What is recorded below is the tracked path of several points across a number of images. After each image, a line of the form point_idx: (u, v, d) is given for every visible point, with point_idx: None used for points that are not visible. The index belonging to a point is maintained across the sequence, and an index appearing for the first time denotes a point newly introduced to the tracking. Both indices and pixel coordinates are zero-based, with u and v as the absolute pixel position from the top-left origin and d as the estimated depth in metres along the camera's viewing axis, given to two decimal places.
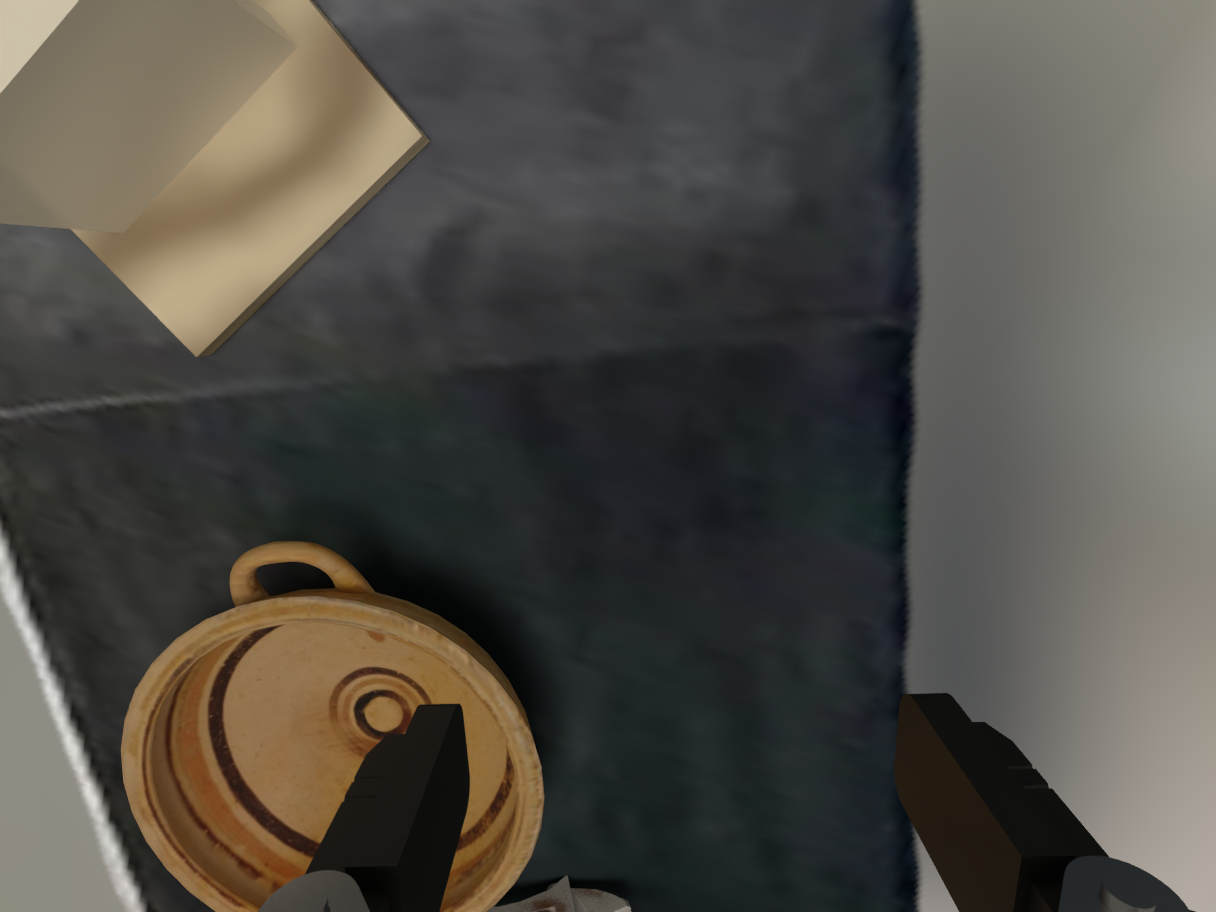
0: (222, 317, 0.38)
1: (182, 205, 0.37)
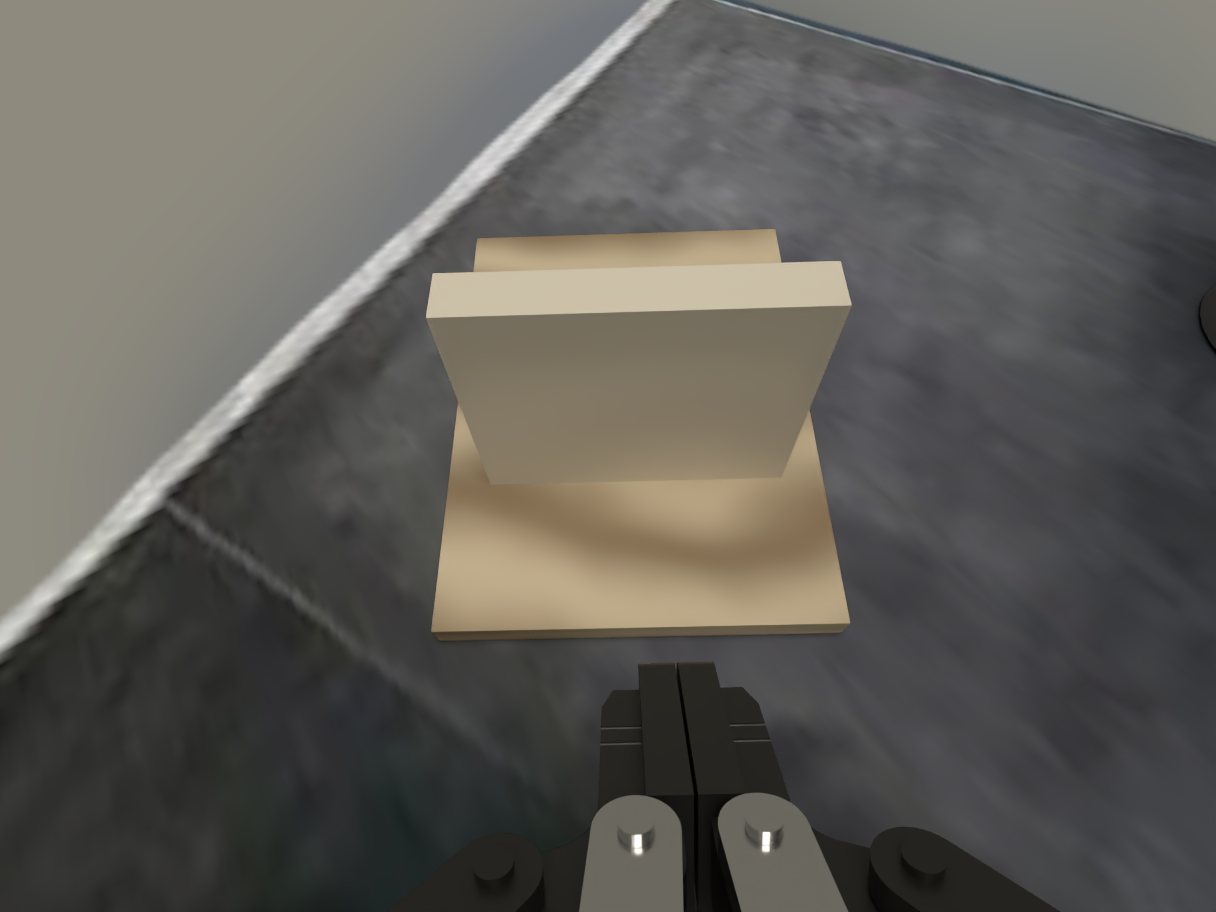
0: (497, 618, 0.30)
1: (564, 505, 0.32)
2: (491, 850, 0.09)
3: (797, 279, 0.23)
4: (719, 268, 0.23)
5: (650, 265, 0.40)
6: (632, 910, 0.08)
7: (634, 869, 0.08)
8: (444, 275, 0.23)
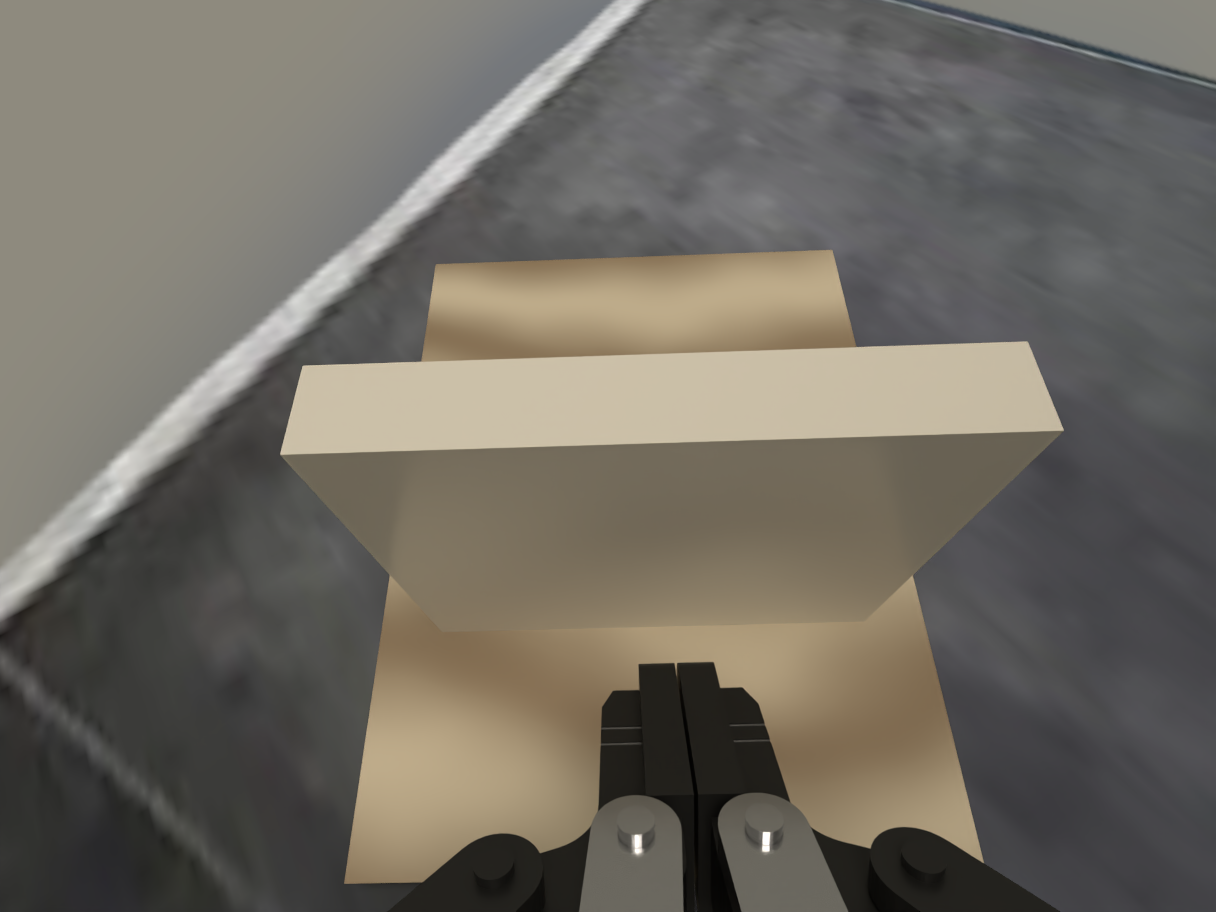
0: (445, 859, 0.20)
1: (548, 665, 0.22)
2: (491, 852, 0.09)
3: (955, 377, 0.13)
4: (811, 356, 0.13)
5: (667, 300, 0.30)
6: (632, 910, 0.08)
7: (635, 869, 0.08)
8: (322, 369, 0.13)
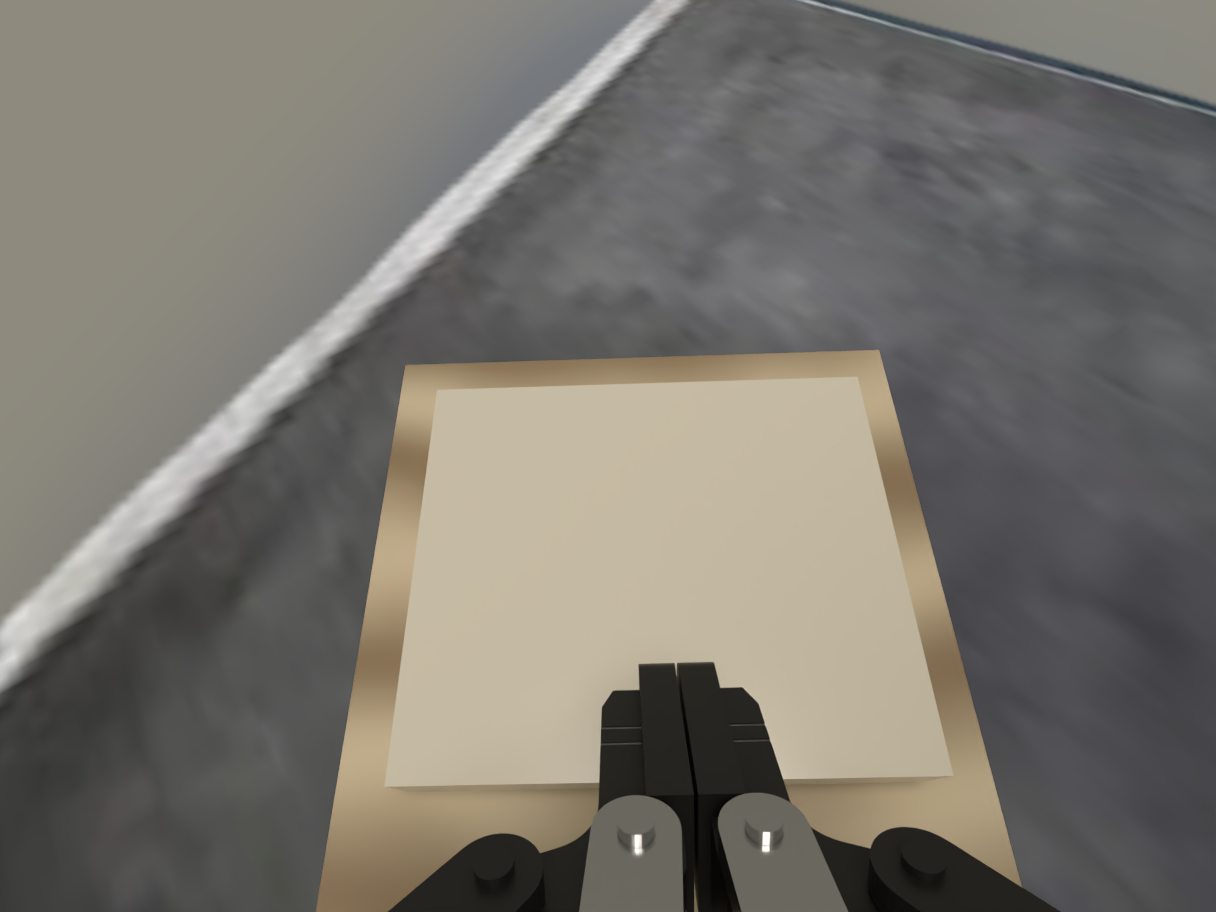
0: None
1: None
2: (491, 850, 0.09)
3: None
4: None
5: None
6: (632, 909, 0.08)
7: (634, 870, 0.08)
8: None
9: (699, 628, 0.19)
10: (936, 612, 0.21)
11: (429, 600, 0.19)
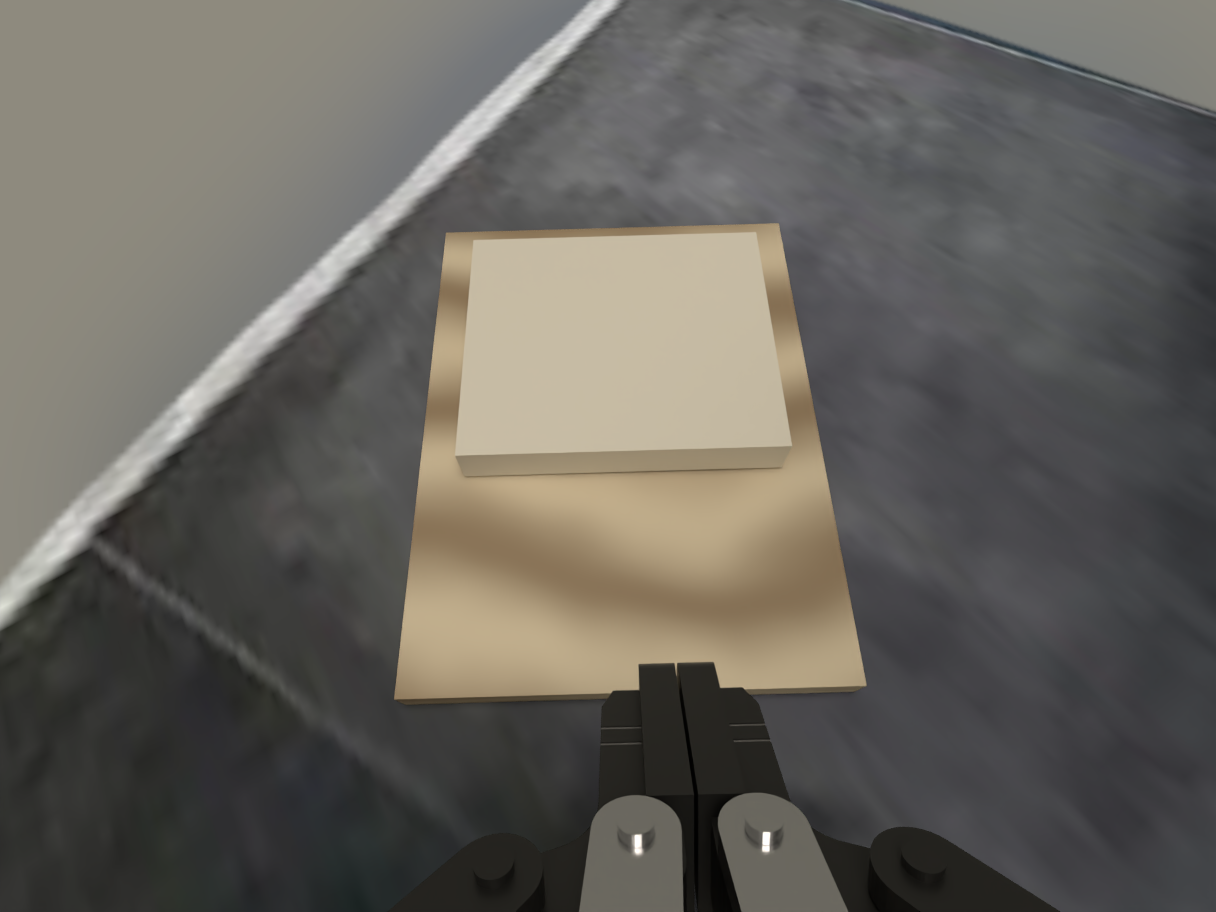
0: (469, 682, 0.26)
1: (545, 547, 0.29)
2: (491, 851, 0.09)
3: None
4: None
5: None
6: (632, 910, 0.08)
7: (634, 869, 0.08)
8: None
9: (645, 374, 0.30)
10: (800, 379, 0.32)
11: (476, 360, 0.30)
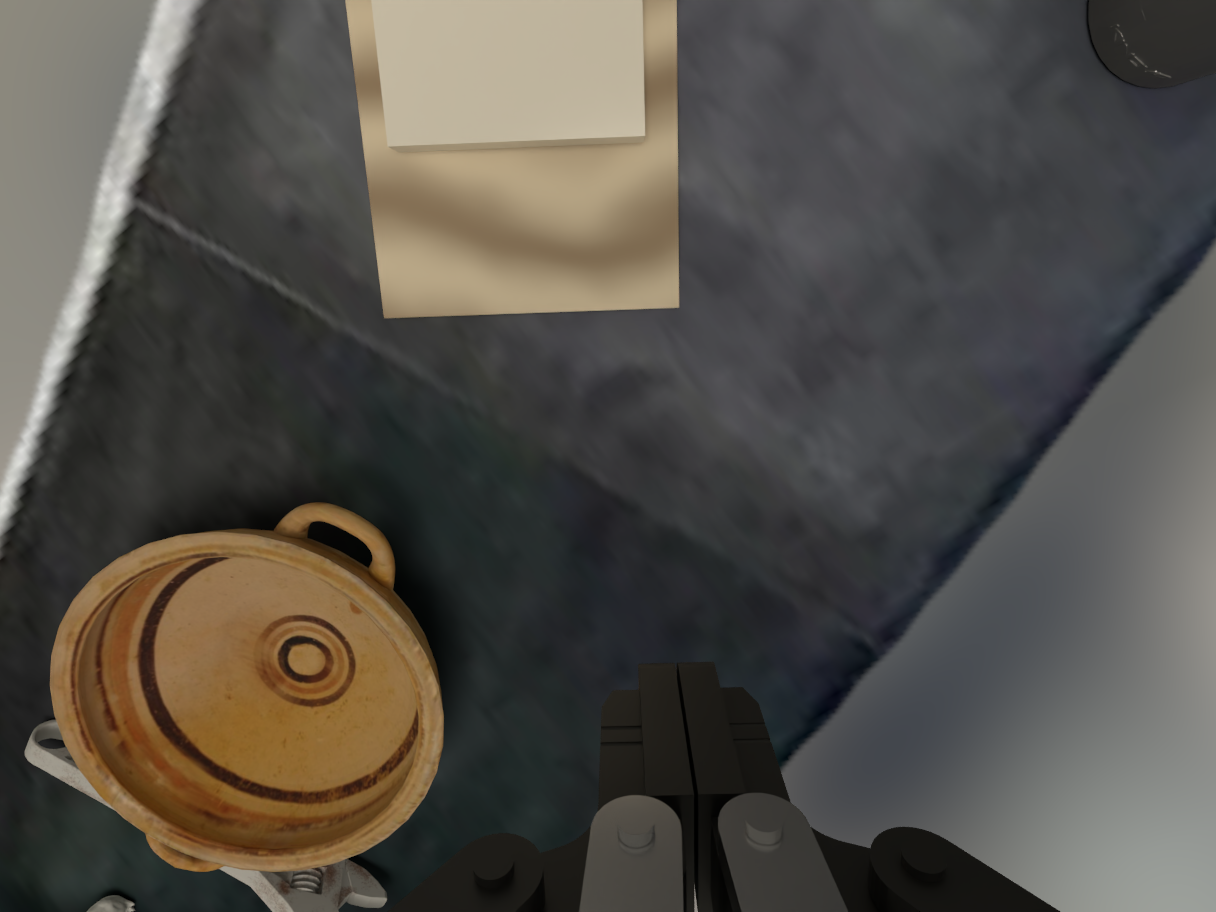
0: (429, 307, 0.41)
1: (467, 212, 0.40)
2: (491, 851, 0.09)
3: None
4: None
5: None
6: (632, 910, 0.08)
7: (635, 868, 0.08)
8: None
9: (531, 62, 0.36)
10: (670, 49, 0.38)
11: (387, 48, 0.36)
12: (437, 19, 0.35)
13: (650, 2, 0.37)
